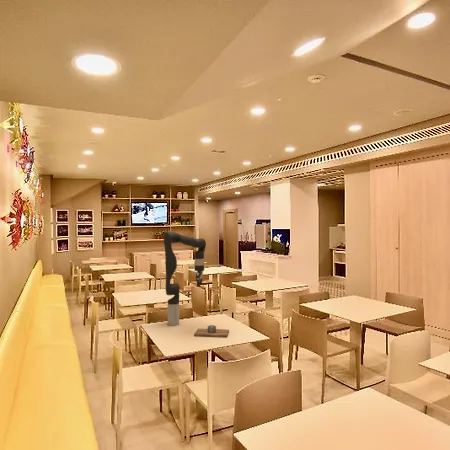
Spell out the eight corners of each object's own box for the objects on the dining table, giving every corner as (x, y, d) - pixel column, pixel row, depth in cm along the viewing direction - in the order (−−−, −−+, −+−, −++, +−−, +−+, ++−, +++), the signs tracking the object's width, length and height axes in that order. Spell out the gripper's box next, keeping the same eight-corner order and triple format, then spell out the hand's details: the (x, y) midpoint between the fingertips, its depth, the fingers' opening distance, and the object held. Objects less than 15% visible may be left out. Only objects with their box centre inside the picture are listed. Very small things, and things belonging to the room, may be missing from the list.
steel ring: (208, 330, 270) (208, 325, 270) (216, 330, 269) (216, 325, 269) (207, 332, 264) (207, 327, 264) (215, 333, 263) (215, 327, 263)
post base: (197, 330, 275) (197, 323, 275) (229, 331, 272) (229, 324, 272) (194, 336, 261) (194, 328, 261) (226, 337, 258) (226, 329, 258)
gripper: (196, 263, 284) (196, 283, 284) (192, 265, 270) (192, 287, 270) (205, 263, 283) (205, 284, 283) (202, 265, 269) (202, 287, 269)
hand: (199, 285), depth 276 cm, fingers open, 8 cm apart
